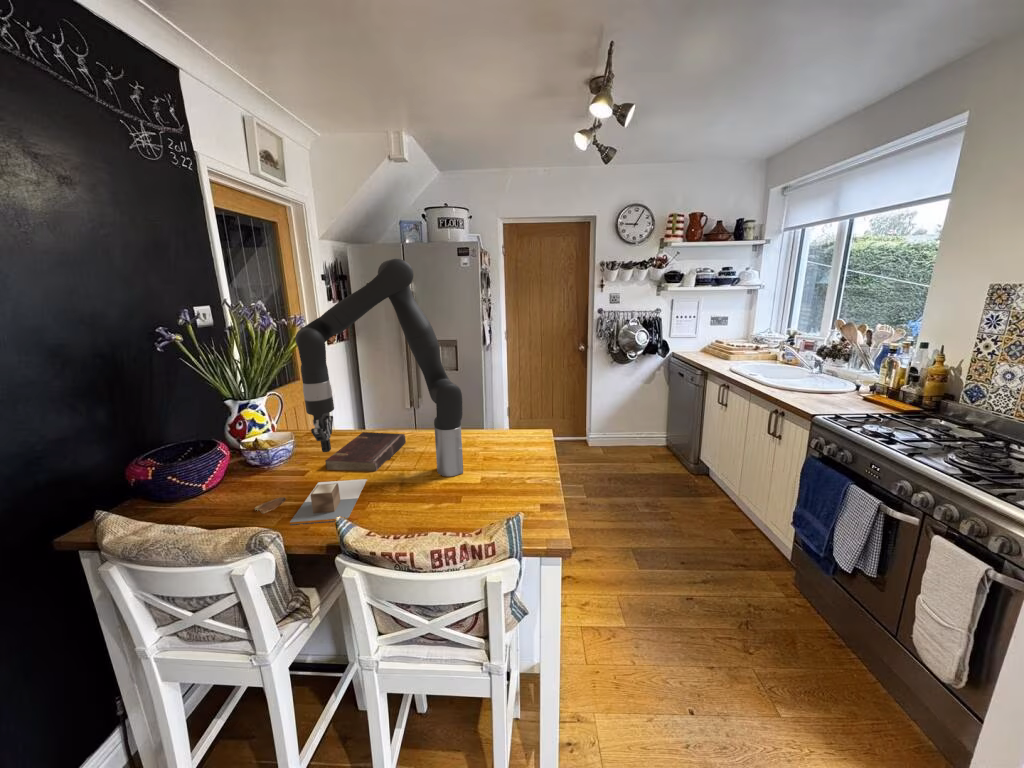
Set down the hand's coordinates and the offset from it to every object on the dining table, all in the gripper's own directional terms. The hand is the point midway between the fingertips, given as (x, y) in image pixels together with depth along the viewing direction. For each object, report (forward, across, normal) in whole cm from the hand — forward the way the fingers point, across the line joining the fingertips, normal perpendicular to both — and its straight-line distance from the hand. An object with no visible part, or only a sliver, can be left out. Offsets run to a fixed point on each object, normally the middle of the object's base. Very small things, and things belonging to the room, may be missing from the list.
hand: (326, 451), depth 124 cm
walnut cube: (+10, -5, 0) cm, 11 cm away
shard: (+17, 0, +18) cm, 25 cm away
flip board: (+17, 0, 0) cm, 17 cm away
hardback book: (+18, +34, -4) cm, 38 cm away
